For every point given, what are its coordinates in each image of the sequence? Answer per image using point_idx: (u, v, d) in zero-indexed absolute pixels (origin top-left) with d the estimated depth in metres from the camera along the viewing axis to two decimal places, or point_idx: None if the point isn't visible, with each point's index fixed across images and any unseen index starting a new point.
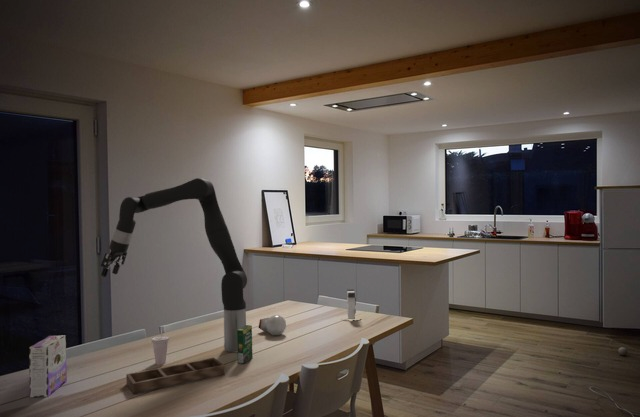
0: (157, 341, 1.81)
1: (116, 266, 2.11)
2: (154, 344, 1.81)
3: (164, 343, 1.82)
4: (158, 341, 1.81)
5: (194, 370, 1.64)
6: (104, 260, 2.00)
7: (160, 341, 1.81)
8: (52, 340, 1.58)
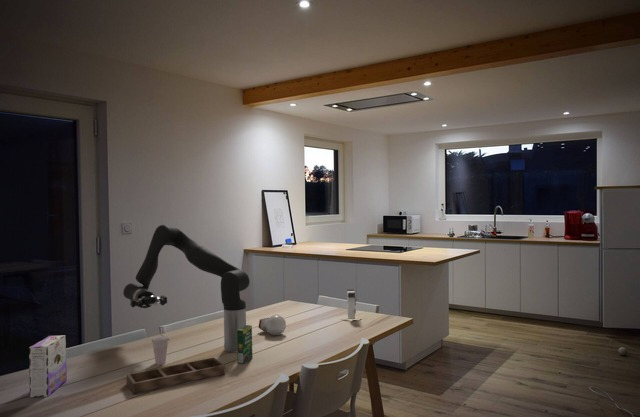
0: (157, 341, 1.81)
1: (160, 301, 1.98)
2: (154, 344, 1.81)
3: (164, 343, 1.82)
4: (158, 341, 1.81)
5: (194, 370, 1.64)
6: (130, 304, 1.96)
7: (160, 341, 1.81)
8: (52, 340, 1.58)
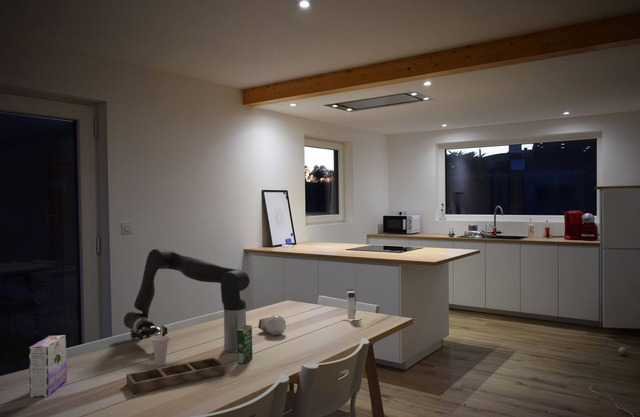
0: (157, 341, 1.81)
1: (160, 332, 1.98)
2: (154, 344, 1.81)
3: (164, 343, 1.82)
4: (158, 341, 1.81)
5: (194, 370, 1.64)
6: (131, 335, 1.96)
7: (160, 341, 1.81)
8: (52, 340, 1.58)
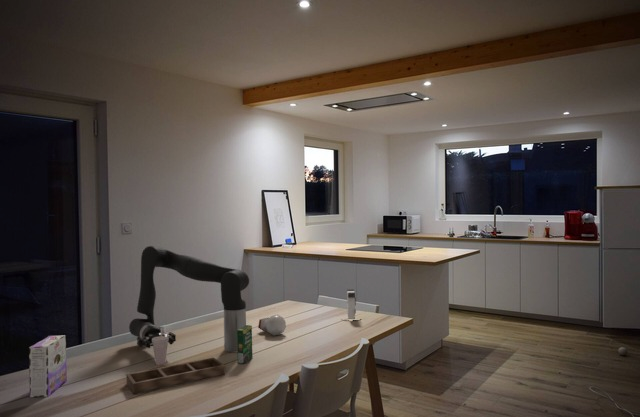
0: (157, 341, 1.81)
1: (168, 340, 1.88)
2: (154, 344, 1.81)
3: (164, 343, 1.82)
4: (158, 341, 1.81)
5: (194, 370, 1.64)
6: (137, 343, 1.86)
7: (160, 341, 1.81)
8: (52, 340, 1.58)
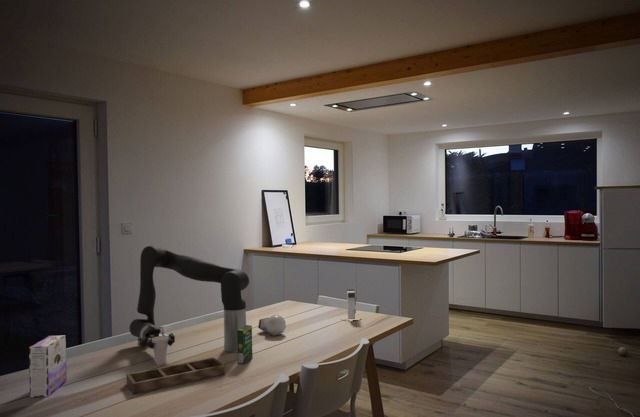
0: (157, 341, 1.81)
1: None
2: (154, 344, 1.81)
3: (164, 343, 1.82)
4: (158, 341, 1.81)
5: (194, 370, 1.64)
6: (139, 344, 1.84)
7: (160, 341, 1.81)
8: (52, 340, 1.58)
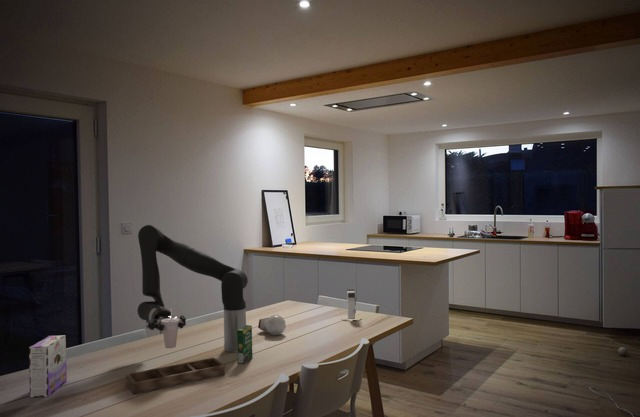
0: (167, 323, 1.67)
1: None
2: (164, 326, 1.68)
3: (174, 325, 1.68)
4: (168, 323, 1.67)
5: (194, 370, 1.64)
6: (148, 326, 1.71)
7: (170, 323, 1.67)
8: (52, 340, 1.58)
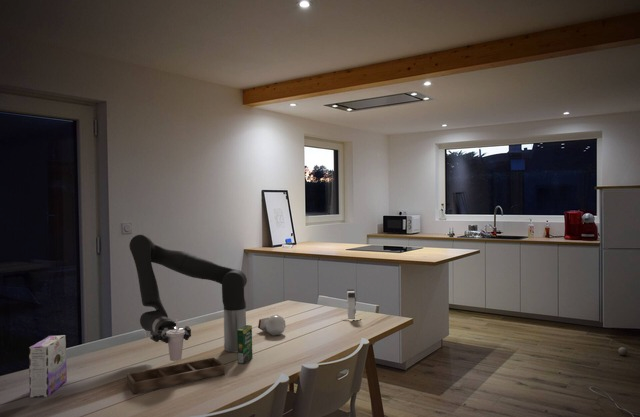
0: (172, 335, 1.62)
1: None
2: (169, 338, 1.63)
3: (180, 337, 1.63)
4: (173, 335, 1.62)
5: (194, 370, 1.64)
6: (152, 337, 1.66)
7: (176, 335, 1.62)
8: (52, 340, 1.58)
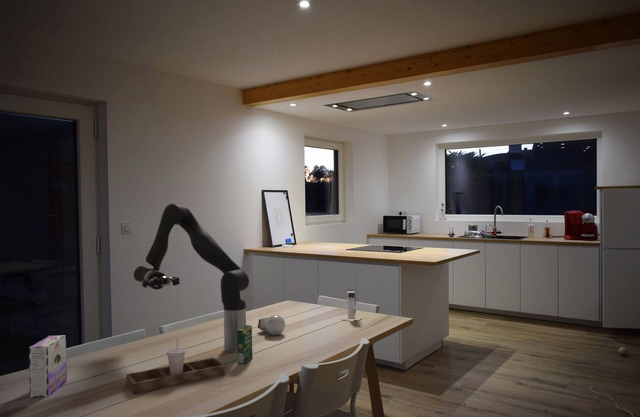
0: (173, 354, 1.62)
1: (172, 282, 1.93)
2: (169, 357, 1.63)
3: (180, 356, 1.64)
4: (174, 354, 1.62)
5: (194, 370, 1.64)
6: (142, 284, 1.90)
7: (176, 354, 1.62)
8: (52, 340, 1.58)
